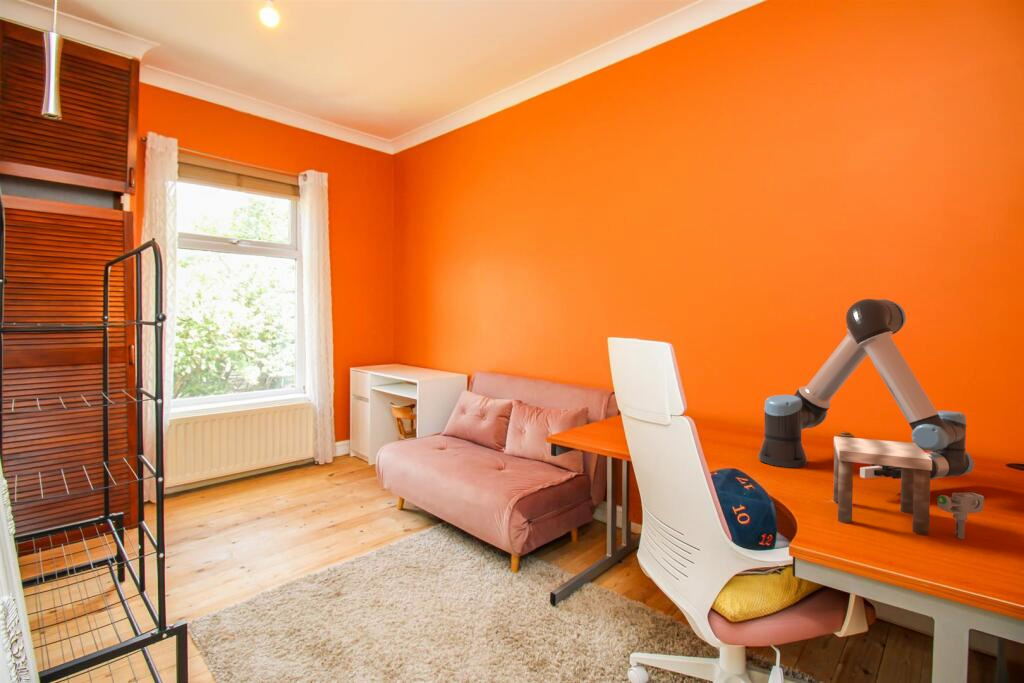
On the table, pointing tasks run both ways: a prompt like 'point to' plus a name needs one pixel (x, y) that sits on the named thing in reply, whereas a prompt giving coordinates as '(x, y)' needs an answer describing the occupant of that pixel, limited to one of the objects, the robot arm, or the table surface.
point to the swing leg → (836, 476)
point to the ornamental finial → (845, 435)
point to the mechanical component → (961, 508)
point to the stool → (889, 454)
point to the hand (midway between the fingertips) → (862, 472)
